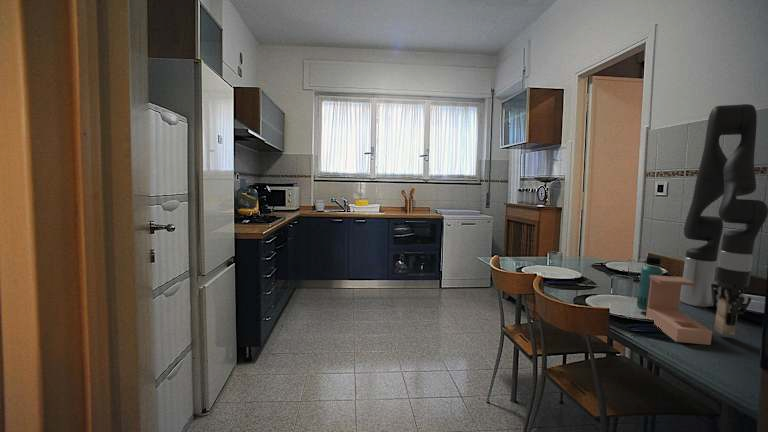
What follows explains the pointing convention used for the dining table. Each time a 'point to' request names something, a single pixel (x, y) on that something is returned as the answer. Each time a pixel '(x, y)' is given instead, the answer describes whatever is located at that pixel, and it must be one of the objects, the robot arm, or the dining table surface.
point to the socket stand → (673, 311)
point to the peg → (723, 319)
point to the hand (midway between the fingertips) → (725, 322)
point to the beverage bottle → (647, 281)
